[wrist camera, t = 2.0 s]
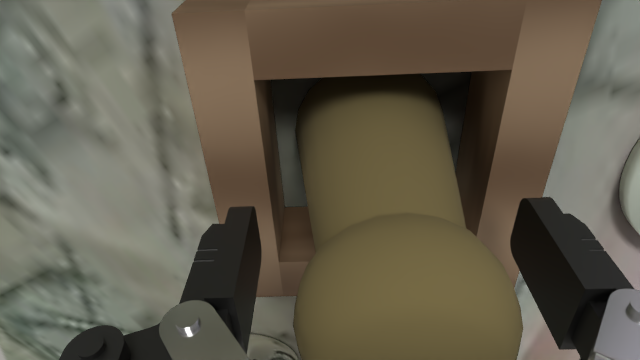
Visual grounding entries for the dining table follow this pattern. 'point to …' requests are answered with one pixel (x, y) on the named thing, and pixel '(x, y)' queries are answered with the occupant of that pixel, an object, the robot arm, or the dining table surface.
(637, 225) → the coaster
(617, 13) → the dining table surface
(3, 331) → the dining table surface
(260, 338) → the beer glass
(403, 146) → the olive pawn
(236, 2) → the frame
